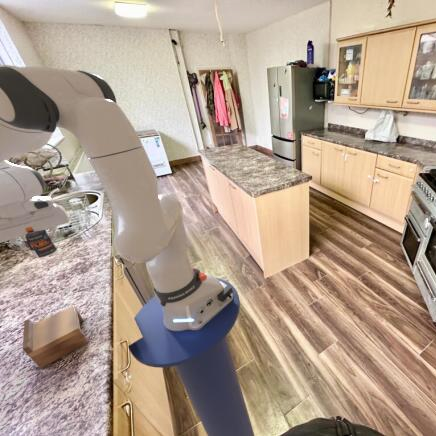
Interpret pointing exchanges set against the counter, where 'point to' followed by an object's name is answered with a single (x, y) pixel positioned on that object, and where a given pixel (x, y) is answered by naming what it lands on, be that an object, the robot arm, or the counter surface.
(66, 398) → the counter surface
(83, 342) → the tan scooped block
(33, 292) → the counter surface
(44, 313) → the counter surface
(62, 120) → the robot arm
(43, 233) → the pill bottle
